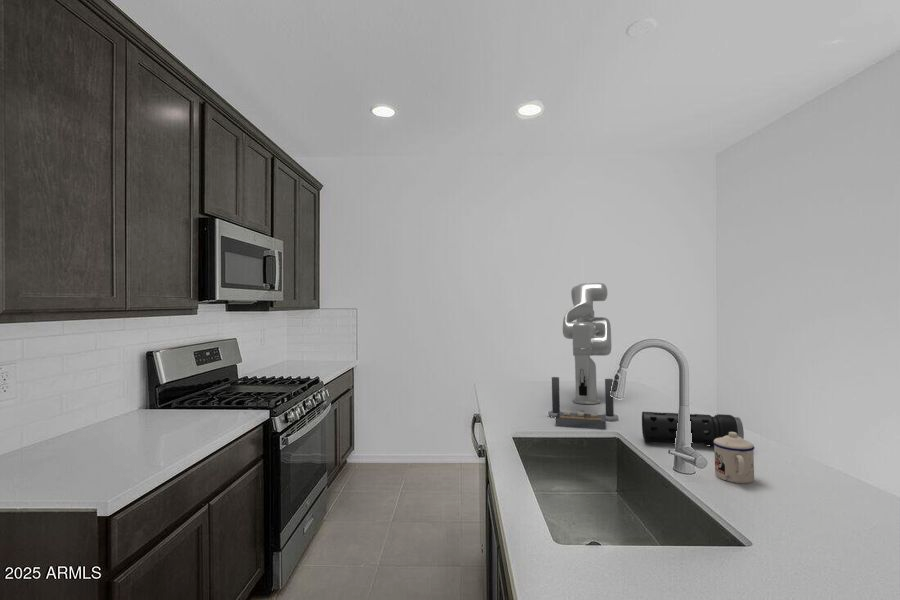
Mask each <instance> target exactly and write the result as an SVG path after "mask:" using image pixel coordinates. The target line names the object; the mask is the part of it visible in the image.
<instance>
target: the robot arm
mask: <svg viewBox="0 0 900 600" xmlns="http://www.w3.org/2000/svg"><path fill="white" fill-rule="evenodd" d="M570 294H571V301H572V304H573V306H572V307H570V308H569V310H567V312H566V313H565V314H564V316H563V319H562V320H563V321H562V335H563V337H564V338H565V339H569V340H572V356H574V369H575V371H574V373H575V375H574V378H575V381H574V382H575V397H573V398H572V402H573V403H575V404H580V405H597V404H598V405H599V404H601V400H600V398H598V395H597V394H598V392H597V364H596V362H595V361H594V360H593V358H591V356H597V357H599V356H602V357H603V356H604V357H605V356H609V355H610V354H611V353H612V352H611V351H612V327H611V323H610V319H608V318H607V317H604V316H603V317H600V316H598V317H596V316H595V310H594V302H604V301H606V300H607V298H608V288H607V286H606V283H601V282H589V283H587V282H586V283H579V284H578V285H576V286H573V287H572V289H571V293H570Z"/></svg>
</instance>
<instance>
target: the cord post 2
mask: <svg viewBox="0 0 900 600" xmlns="http://www.w3.org/2000/svg"><path fill="white" fill-rule="evenodd" d="M612 382H613V383H614V379H613V378H604V395H605V397H604V399H605V413H603V414H601V415H606V422H618V421H619V415H618V414H615V412H614V411H615V408H614V407H615V406H614V405H615V404H614V396H613V397H611V396H610V391H611V386H612Z"/></svg>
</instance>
